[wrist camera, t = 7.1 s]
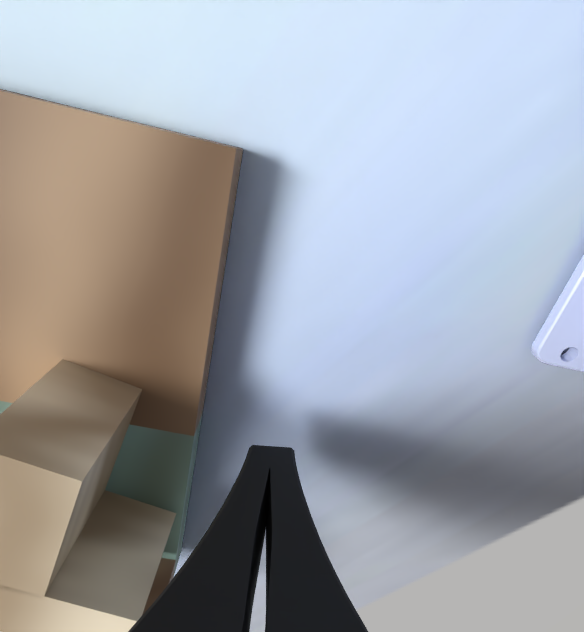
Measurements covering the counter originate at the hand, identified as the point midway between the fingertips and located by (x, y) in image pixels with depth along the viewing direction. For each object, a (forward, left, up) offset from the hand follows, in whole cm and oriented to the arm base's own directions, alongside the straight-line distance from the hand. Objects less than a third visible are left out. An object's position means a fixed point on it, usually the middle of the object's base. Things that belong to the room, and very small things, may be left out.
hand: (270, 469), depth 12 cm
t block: (+6, +2, -1) cm, 7 cm away
